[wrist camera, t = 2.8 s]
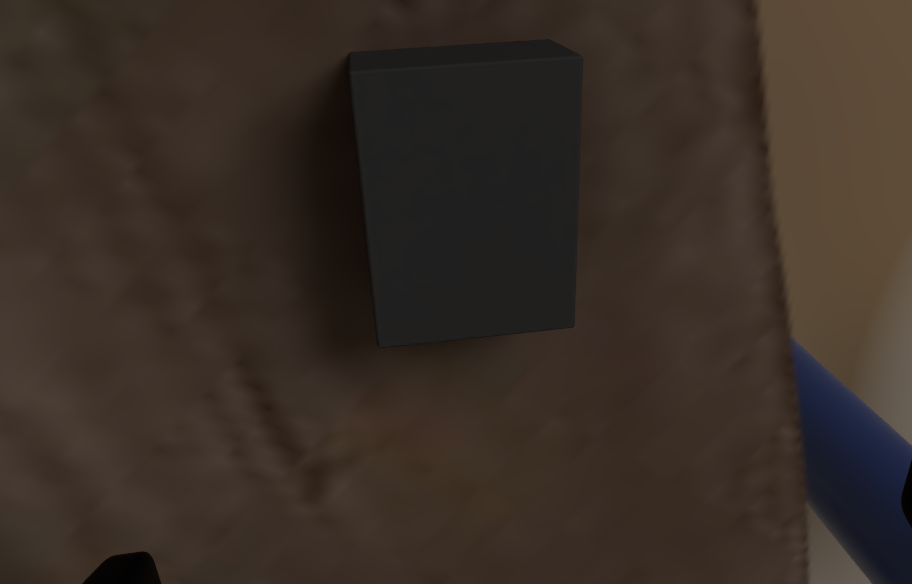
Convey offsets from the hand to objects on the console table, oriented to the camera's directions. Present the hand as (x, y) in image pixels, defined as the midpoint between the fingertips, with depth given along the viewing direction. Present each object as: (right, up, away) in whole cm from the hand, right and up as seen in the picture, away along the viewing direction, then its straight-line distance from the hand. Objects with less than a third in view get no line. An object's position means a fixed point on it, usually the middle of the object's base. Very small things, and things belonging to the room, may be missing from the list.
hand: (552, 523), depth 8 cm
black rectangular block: (-1, +5, +9) cm, 10 cm away
